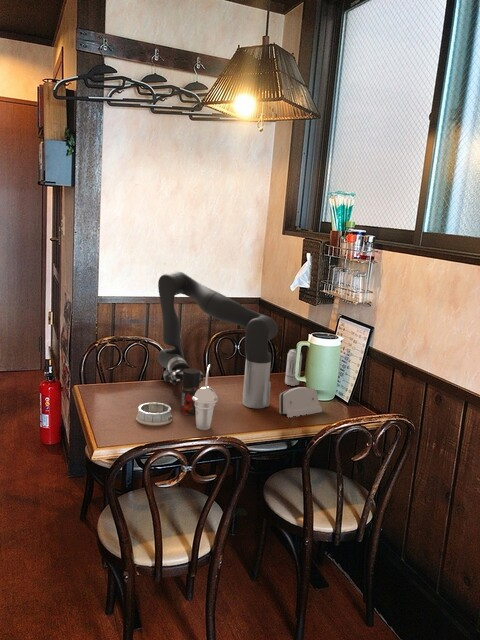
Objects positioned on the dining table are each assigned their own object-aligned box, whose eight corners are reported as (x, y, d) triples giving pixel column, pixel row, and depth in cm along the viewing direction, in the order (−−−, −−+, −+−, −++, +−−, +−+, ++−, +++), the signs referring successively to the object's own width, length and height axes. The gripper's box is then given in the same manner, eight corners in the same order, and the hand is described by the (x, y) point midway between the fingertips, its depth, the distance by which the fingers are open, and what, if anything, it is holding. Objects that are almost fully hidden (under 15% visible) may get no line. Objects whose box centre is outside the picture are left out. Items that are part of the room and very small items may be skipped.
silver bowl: (168, 411, 188) (169, 401, 188) (175, 425, 177) (176, 414, 177) (133, 412, 185) (134, 402, 184) (138, 426, 174) (138, 415, 173)
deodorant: (201, 411, 191) (203, 371, 188) (190, 416, 186) (193, 374, 183) (187, 407, 194) (190, 367, 191) (177, 412, 189) (179, 370, 186)
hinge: (287, 418, 192) (284, 389, 193) (279, 417, 196) (276, 390, 197) (322, 411, 201) (319, 384, 202) (314, 411, 205) (311, 385, 206)
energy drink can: (284, 386, 227) (287, 351, 224) (285, 382, 233) (288, 348, 230) (298, 388, 226) (302, 353, 223) (299, 383, 232) (302, 350, 229)
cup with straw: (184, 427, 176) (188, 368, 172) (201, 419, 184) (205, 362, 180) (206, 434, 172) (210, 374, 168) (221, 426, 179) (226, 368, 175)
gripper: (160, 359, 206) (168, 372, 190) (197, 359, 210) (207, 371, 195) (159, 378, 207) (166, 392, 192) (196, 377, 211) (206, 391, 196)
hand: (187, 382), depth 193 cm, fingers open, 8 cm apart
